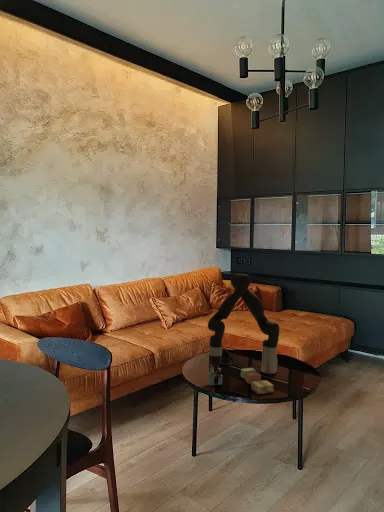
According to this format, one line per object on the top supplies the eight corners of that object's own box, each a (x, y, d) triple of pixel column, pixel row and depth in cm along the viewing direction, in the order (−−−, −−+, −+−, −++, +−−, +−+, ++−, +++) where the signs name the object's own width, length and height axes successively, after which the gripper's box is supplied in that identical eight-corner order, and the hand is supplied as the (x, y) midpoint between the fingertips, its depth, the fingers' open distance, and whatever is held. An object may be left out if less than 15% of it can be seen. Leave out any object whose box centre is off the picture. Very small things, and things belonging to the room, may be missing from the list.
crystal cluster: (226, 368, 262) (229, 353, 261) (210, 362, 269) (212, 348, 269) (236, 365, 272) (238, 351, 272) (220, 359, 280) (222, 345, 280)
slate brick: (219, 381, 232) (219, 373, 232) (222, 384, 228) (222, 375, 227) (206, 382, 229) (206, 374, 229) (209, 385, 225) (209, 376, 225)
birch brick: (265, 386, 229) (266, 380, 229) (273, 392, 222) (273, 385, 222) (250, 388, 226) (251, 381, 226) (257, 394, 218) (258, 387, 218)
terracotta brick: (257, 380, 240) (257, 372, 240) (260, 383, 236) (261, 374, 235) (245, 381, 238) (245, 373, 237) (248, 384, 233) (248, 375, 233)
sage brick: (251, 375, 248) (251, 367, 248) (255, 377, 244) (255, 370, 244) (240, 376, 245) (240, 369, 245) (244, 379, 241) (244, 371, 240)
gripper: (226, 356, 222) (225, 386, 223) (216, 349, 235) (215, 377, 236) (214, 358, 219) (213, 387, 220) (204, 350, 233) (203, 378, 234)
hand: (214, 382), depth 228 cm, fingers closed on slate brick, 4 cm apart
